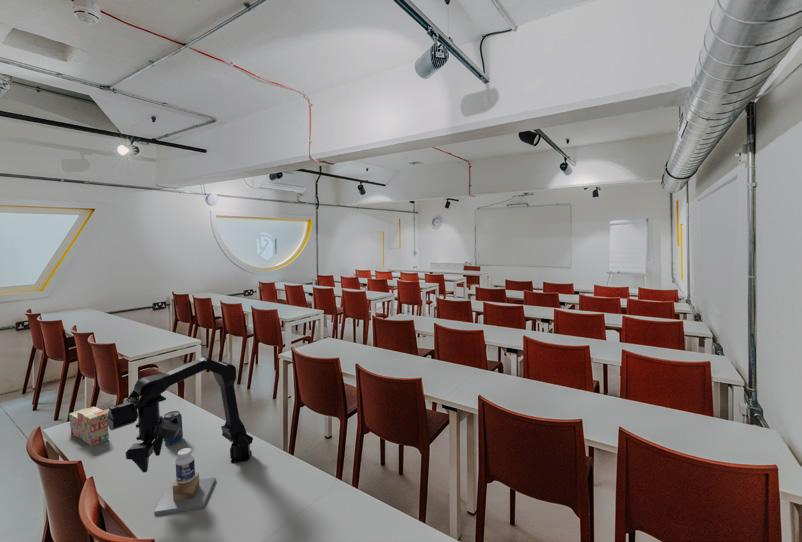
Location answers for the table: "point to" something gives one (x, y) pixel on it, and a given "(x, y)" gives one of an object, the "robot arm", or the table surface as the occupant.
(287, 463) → the table surface
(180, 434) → the soda can
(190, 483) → the tan wooden block
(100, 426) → the stack of blocks
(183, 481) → the pill bottle
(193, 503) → the base plate
